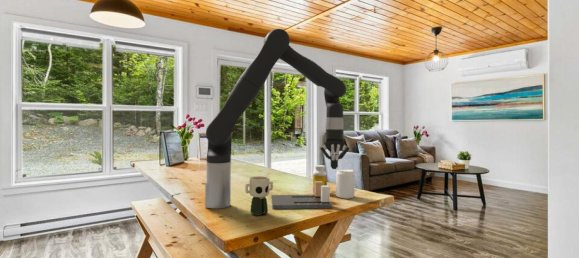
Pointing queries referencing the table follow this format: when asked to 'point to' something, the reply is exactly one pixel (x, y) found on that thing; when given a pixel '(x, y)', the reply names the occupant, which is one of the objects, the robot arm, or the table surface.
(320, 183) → the terracotta fader
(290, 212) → the table surface
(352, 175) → the beverage can
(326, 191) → the block
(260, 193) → the character mug
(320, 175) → the supplement bottle
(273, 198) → the board
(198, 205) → the table surface
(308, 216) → the table surface
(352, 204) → the table surface
